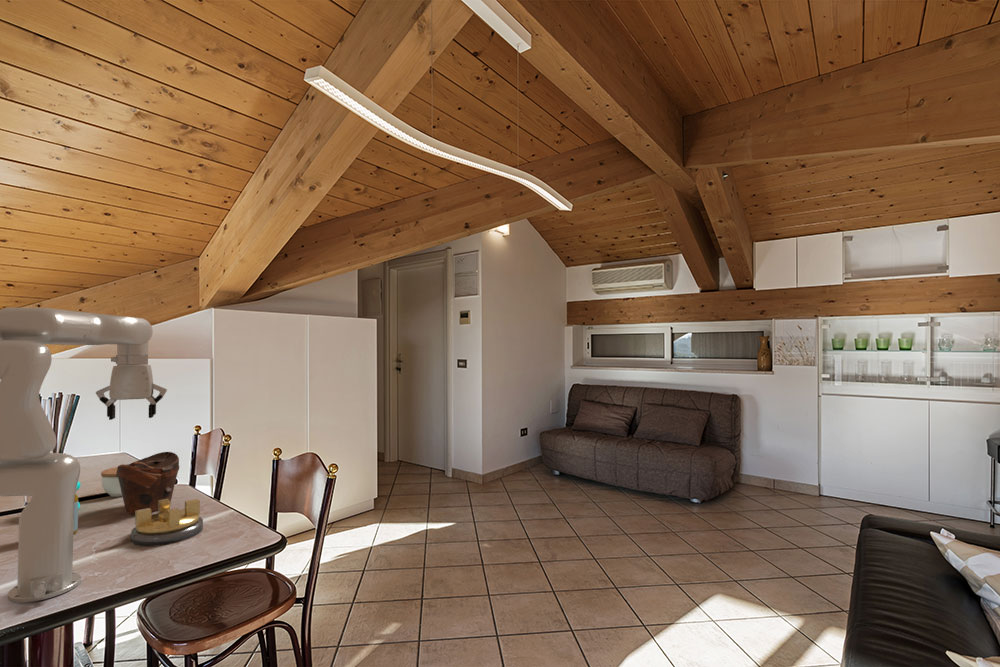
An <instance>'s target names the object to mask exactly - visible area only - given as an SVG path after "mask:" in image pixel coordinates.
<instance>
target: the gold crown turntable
mask: <svg viewBox="0 0 1000 667" xmlns="http://www.w3.org/2000/svg"><path fill="white" fill-rule="evenodd" d="M200 503H201V500H199V499H198V498H196V499H189V500H185V501H184V509H179V508H171V503H170V500H169V499H162V500H158V510H157V513H154V514H152V512H151V509H150V508H147V509H142V510H136V511H135V514H134V515H135V516H134V520H135V521H134V525H135V527H134V528H135V531H136V533H138V534H142V535H161V534H168V533H173V532H177V531H181V530H184V529H187V528H190V527H192V526H194V525H196V524H197V523H198V522H199V517H200V513H201V512H200V510H201V507H200V506H201V504H200Z"/></svg>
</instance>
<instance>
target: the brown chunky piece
mask: <svg viewBox="0 0 1000 667" xmlns="http://www.w3.org/2000/svg"><path fill="white" fill-rule="evenodd" d="M117 467H118V468H117V473H116V477H118V479H119V484H120V488H121V492H122V496H121V497H122V502H123V504H124V509H125V512H126V513H127V514H130V515H131V514H133V515H135V511H136V510H142V509H147V508H150V509H151V513H152V512H158V500H162V499H169V500H170V504H171V503H172V497H173V494H174V491H175V490H174V489H175V485H176V482H177V480H176V479H177V477H178V474H179V470H180V458H179V456H178V454H176V452H172V451H163V452H157V453H155V454H152V455H149V456H147V457H143V458H141V459H138V460H137V461H134V462H131V463H127V464H124V465H121V464H120V465H118V466H117Z"/></svg>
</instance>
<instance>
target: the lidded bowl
mask: <svg viewBox="0 0 1000 667" xmlns="http://www.w3.org/2000/svg"><path fill="white" fill-rule="evenodd" d="M120 465H125V464H123V463H122V464H120ZM117 468H118V466H115V467H111V468H106V469H105V470H102V471H101V472H100V478H101V480H100V481H101V487H102V488H103V490H104V492H105V493H106V494H108V495H109V496H110V497H117V498H118V497H123V496H122V492H121V488H120V484H119V479H118V477H116V473H117Z"/></svg>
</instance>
